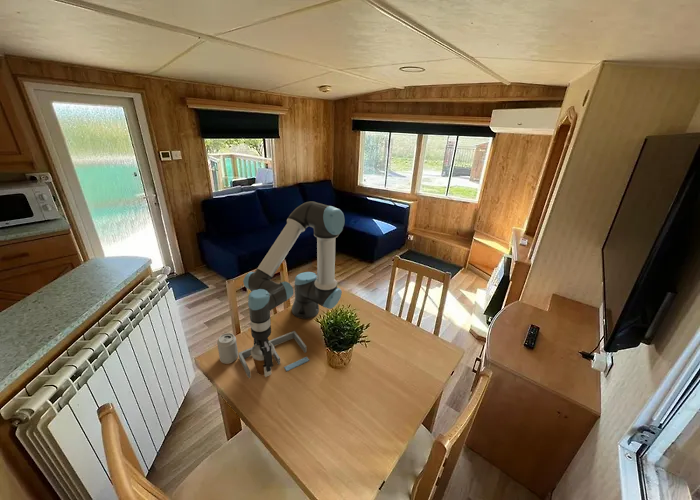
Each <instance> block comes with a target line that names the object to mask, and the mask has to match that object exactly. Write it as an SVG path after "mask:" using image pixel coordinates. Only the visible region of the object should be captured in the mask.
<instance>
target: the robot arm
mask: <svg viewBox="0 0 700 500" xmlns="http://www.w3.org/2000/svg"><path fill="white" fill-rule="evenodd" d="M345 221H346V220H345V215H344V212H343V211H342V210H341V209H340V208H337V207H335V206H332V205H327V204H323V203H320V202H316V201H306V202H304V203H302V204H300V205H298V206H297V207H296V208H295V209H294V210H293V211H291V213H290V214H289V215H288V217H287V219H286V224H285V226H284V227H283V229H282V230H281V231H280V234H279V235H278V236H277V238H276V239H275V241H274V242H273V244H272V245H271V247H270V248H269V250H268V252H267V253H266V255H265V256H264V258H263V259H262V261H261V262H260V263H259V265H258V267H257V269H255V271H249V272H248V273H247V274H245V275H244V278H243V281H242V282H243V286H244V287H245V288H246V289H247V290H249V291H250V293H248V296H247V298H248V299H247V306H248V313H249V319H250V322H248V325H249V326H250V333H251V337H252V339H253V346H254V345H255V344H257V345H259V347H260V350H261V351H262V355H263V356H264V365H263V367H264V375H263V376H264V378H267V377H269V376H270V375H272V370H271V367H272V368H273V366H274V362H273V360H274V359H273V360H272V353H271V346H269V343H268V342H269V341H270V340H269V337H270V336H271V333H272V325H271V324H272V323H271V321H272V320H271V311H272V310H274V309H275V308H278V307H279V306H281V304H283V303H285V302H287V301H289V299H291V298H292V296H294V301H293V303H292V305H291V313H292V315H293V316H294V317H296V318H298V319H303V320H304V319H312V318H314V317H315V316H317V315H319V314H318V313H319V312H320V306H321V307H323V308H326V309H327V310H328V309H329V310H332V309H333V308H335V307H336V305H337V304H338V303H339V302H340V300H341V298H342V289H341V288H340V287H338V281H337V280H336V279H335V270H336V265H335V263H336V238H338V237H339V235H340V234H341V233H342V232H343V230H344V227H345ZM308 227H310V228H312V229H313V236H314V237H315V238H316V242H317V243H316V248H317V249H316V252H317V253H316V257H317V258H316V259H317V260H316V263H317V267H316V270H317V271H316V272H317V273H315V272H312V271H305V272H301V273H298V274H297V275H296V276H295V278H294V288H293V286H292V284H291V283H290V282H288V281H286V280H285V281H282V282H279V283H278V282H275V281H274V280H272V279H273V277H274V276H275V274H276V273H277V271H278V269H279V268H280V266H281V264H282V263H283V262H284V259H285V258H286V257H287V255H288V254H289V251H290V250H291V249H292V247H293V246H294V244H295V243H296V241H297V239H298V238H299V236H301V235H300V234H302V233H304V232H305V231H306V230H307V228H308ZM262 347H263V348H262Z"/></svg>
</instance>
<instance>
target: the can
mask: <svg viewBox="0 0 700 500" xmlns="http://www.w3.org/2000/svg"><path fill="white" fill-rule="evenodd" d="M216 344H217V351H218V356H219V361H220V362H221V363H222V364H232V363H233V362H235V361H236V360H237V359H238V358H239V351H238V344H237V337H236V336H235V335H234V333H232V332H225V333H223V334H221V335H220V336H219V337H218V340H217V342H216Z"/></svg>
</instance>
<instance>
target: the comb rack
mask: <svg viewBox="0 0 700 500" xmlns="http://www.w3.org/2000/svg"><path fill="white" fill-rule="evenodd" d="M293 339H294V340H295V342H296V343H297V345H298V346H299V348H300V349H301V350H302V351H303V353H305V354H306V353H307V351H308V350H307V349H308V348H307V347H308V346H307V345H306V344H305V342H304V341H303V340H302V338H301V337H300V336H299V335H298V332H296V330H292V331H291V332H287V333H285V334H283V335H279V336H278V337H274V338H272V339H271V340H269V342H271V343H272V344H273V346H274V347H276V346H278V345H280V344H282V343H285V342H287V341H289V340H293ZM251 349H252V347H250V348H246V349H245V350H242V351H238V359H239V361H240V363H241V365H242V367H243V369H244V372H245V374H246V376H247V378H248V379H250V378H252V375H251V374H252V373H251V370H250V368H249V366H248V364H247V362H246V358H248V357H252V356H251ZM273 360H275V362H276V364H277V365H281V356H280V355H279V354H278V352H277V351H276V350H275V351H274V353H273Z"/></svg>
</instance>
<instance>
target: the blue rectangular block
mask: <svg viewBox="0 0 700 500" xmlns="http://www.w3.org/2000/svg"><path fill="white" fill-rule="evenodd" d="M307 362H310V359H309V358H308V356H305V357H302V358H300V359H298V360H297V361H295V362H291V363H289V364H288V365H284V367H283V368H284V370H285V372H288V371H291V370H294V369H296V368H298V367H300V366H301V365H304V364H305V363H307Z"/></svg>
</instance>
